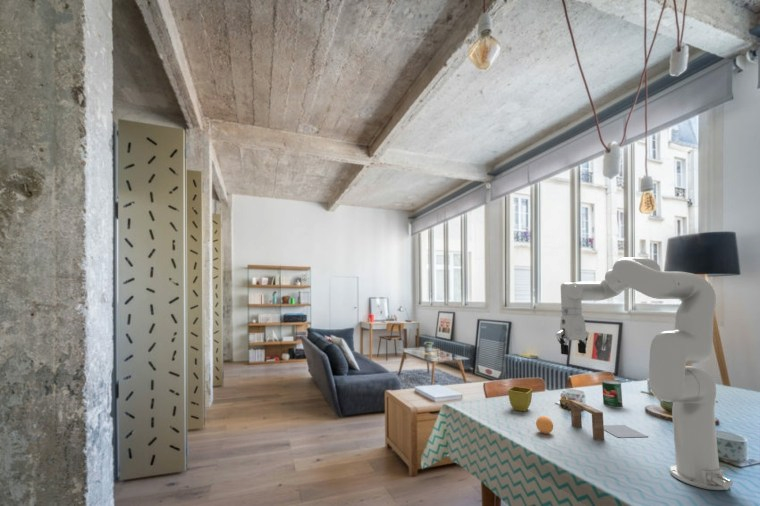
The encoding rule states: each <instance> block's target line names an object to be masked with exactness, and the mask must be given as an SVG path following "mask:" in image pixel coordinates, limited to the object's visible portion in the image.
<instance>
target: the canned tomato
mask: <svg viewBox="0 0 760 506" xmlns="http://www.w3.org/2000/svg"><path fill="white" fill-rule="evenodd" d="M601 387H602V388H601V389H602V403H603V405H604V406H606V407H609V406H610V408H614V407H622V408H623V394H622V391H623V390H622V382H620V381H617V380H611V379H602V380H601Z"/></svg>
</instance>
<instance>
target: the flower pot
mask: <svg viewBox="0 0 760 506" xmlns="http://www.w3.org/2000/svg"><path fill="white" fill-rule="evenodd" d="M507 395H508V399H509V400H508V401H509V403H510V406H511V407H512V409H513V410H515V411H519V412H526V411H527V410H529V408H530V405H531V402H532V396H533V388H527V387H523V386H522V387H521V386H514V385H513V386H512V387H510V388H509V389H507Z"/></svg>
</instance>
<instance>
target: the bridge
mask: <svg viewBox="0 0 760 506" xmlns="http://www.w3.org/2000/svg"><path fill="white" fill-rule="evenodd" d="M570 402H571V410H570V418H571V422H570V423H571V426H572V425H573V427H574V428H582V426H583V423H582V411H585V412H587V413H589V414H591V424H592V425H591V426H592V438H593V439H594V440H596V441H605V430H604V425H605V424H604V412H603V411H601V410H599V409H596V408H595V407H593V406H591V405H588V404H586V403H584V402H583V401H582V402H583V403H582V402H580V401H578V400H570ZM581 409H583V410H581Z"/></svg>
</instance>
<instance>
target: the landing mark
mask: <svg viewBox="0 0 760 506" xmlns="http://www.w3.org/2000/svg"><path fill="white" fill-rule="evenodd" d="M604 432H606V433H609V434H610V435H612V436H614V437H616V439H617V438H618V439H625V438H630V439H631V438H633V439H634V438H649V436H648V435H646V434H644V433H642V432H639V431H638V430H636V429H634V428H632V427H629V426H628V425H626V424H616V425H615V424H614V425H613V424H609V425H608V424H607V425H605V424H604Z"/></svg>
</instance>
